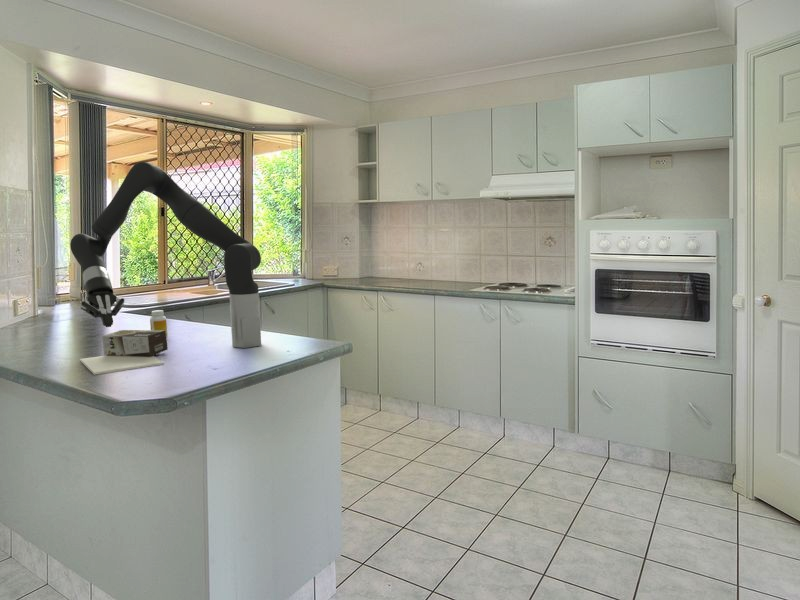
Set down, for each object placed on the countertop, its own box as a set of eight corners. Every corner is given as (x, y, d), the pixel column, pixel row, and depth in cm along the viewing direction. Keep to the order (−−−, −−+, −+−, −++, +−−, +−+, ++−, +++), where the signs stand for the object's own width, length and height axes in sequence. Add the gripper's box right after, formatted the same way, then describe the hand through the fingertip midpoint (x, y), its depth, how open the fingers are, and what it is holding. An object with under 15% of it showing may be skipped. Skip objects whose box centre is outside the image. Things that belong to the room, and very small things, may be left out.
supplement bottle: (170, 336, 213) (168, 310, 212) (159, 339, 208) (157, 312, 207) (159, 335, 215) (157, 309, 214) (148, 338, 210) (145, 311, 209)
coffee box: (103, 356, 180) (149, 357, 176) (101, 335, 179) (147, 336, 175) (124, 349, 188) (168, 350, 185) (121, 329, 187) (166, 329, 184)
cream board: (163, 364, 169) (163, 362, 169) (94, 374, 158) (94, 372, 158) (144, 352, 186) (143, 350, 186) (80, 360, 176) (80, 358, 176)
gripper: (75, 277, 184) (85, 320, 175) (121, 274, 191) (133, 315, 183) (74, 292, 188) (84, 335, 180) (118, 289, 196) (130, 330, 188)
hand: (108, 325), depth 182 cm, fingers closed
